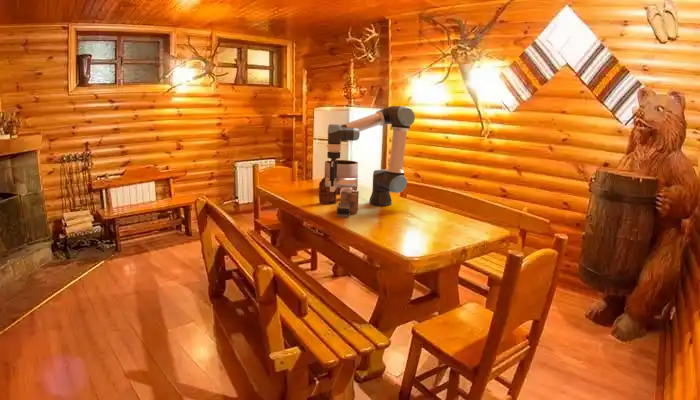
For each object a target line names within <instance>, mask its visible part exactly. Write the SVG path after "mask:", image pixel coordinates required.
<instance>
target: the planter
mask: <svg viewBox="0 0 700 400" xmlns="http://www.w3.org/2000/svg"><path fill="white" fill-rule="evenodd" d="M330 161H331V159H330V160H326V161H324V177H326V176H330ZM336 161H337V177H338V178H356V179H357V185H356V188H352V191H353V190H354V191H358V181H359V175H358V174H359V173H358V171H359V162H357V161H354V160H347V159H336ZM324 177H323V178H324ZM341 188H342V187H337V194H340V190H341Z"/></svg>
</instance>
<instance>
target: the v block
mask: <svg viewBox="0 0 700 400" xmlns="http://www.w3.org/2000/svg"><path fill="white" fill-rule="evenodd" d="M336 211H337V212H336V218H346V219H347V218H349V217H350V214H351V213H350V204H346V203H341V202H339V203H338V205H337V206H336Z"/></svg>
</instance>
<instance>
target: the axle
mask: <svg viewBox="0 0 700 400" xmlns="http://www.w3.org/2000/svg"><path fill="white" fill-rule="evenodd" d="M329 180H330V178H325V187H330V181H329ZM356 185H357V179H356V178H335V187H346V188H356Z"/></svg>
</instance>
